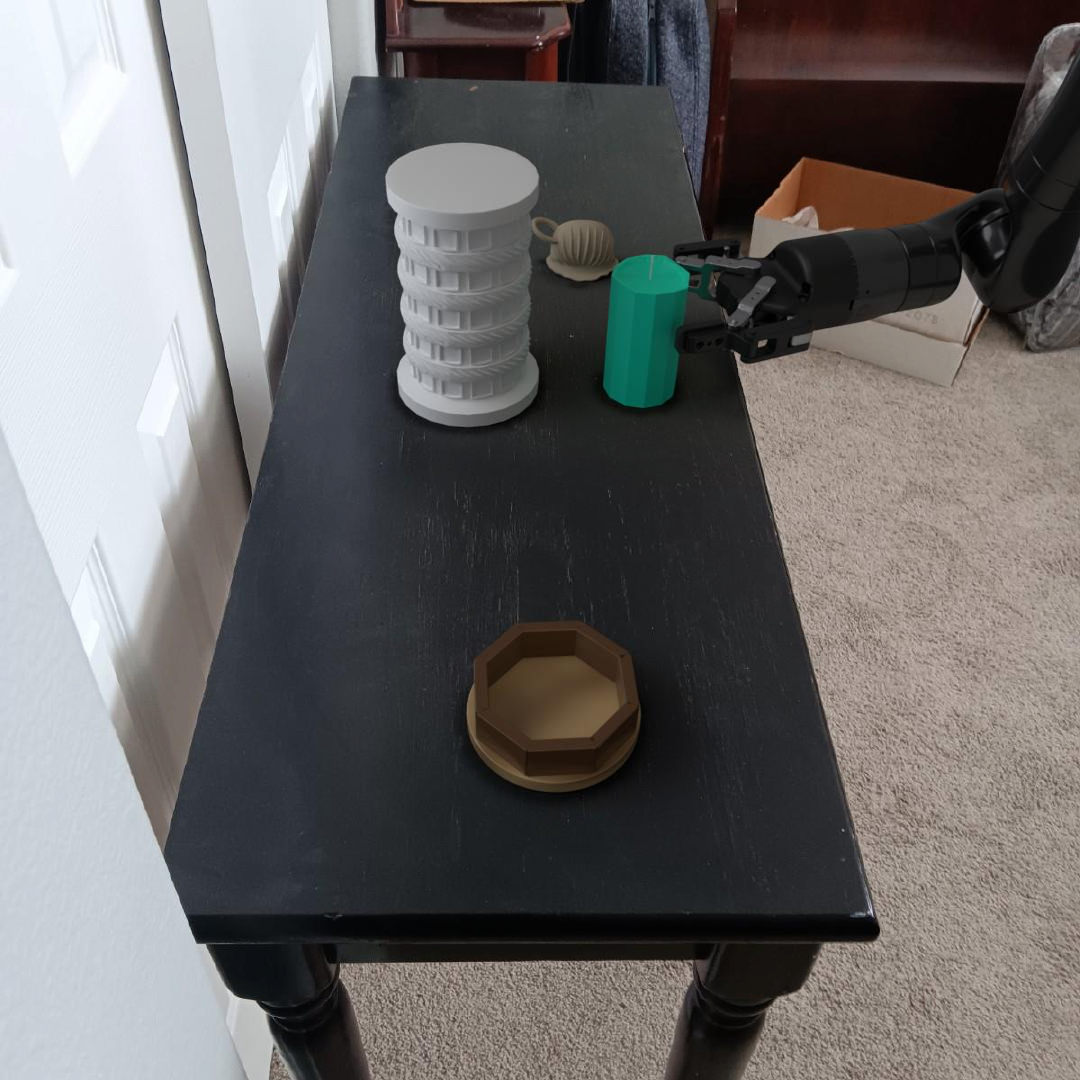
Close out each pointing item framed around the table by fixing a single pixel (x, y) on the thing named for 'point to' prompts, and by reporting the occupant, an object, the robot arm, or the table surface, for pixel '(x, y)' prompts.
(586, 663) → the candle pad
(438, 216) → the decorative container
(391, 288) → the table surface
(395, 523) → the table surface
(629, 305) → the candle
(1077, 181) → the robot arm
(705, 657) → the table surface
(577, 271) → the decorative ornament
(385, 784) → the table surface
